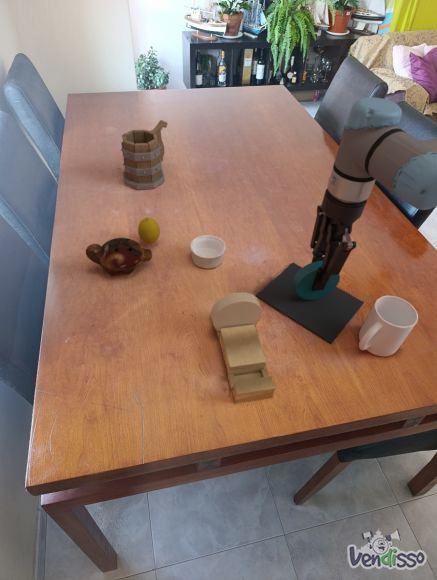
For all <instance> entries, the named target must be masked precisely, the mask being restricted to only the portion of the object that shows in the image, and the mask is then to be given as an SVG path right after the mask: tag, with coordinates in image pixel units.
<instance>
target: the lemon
mask: <svg viewBox="0 0 437 580" xmlns="http://www.w3.org/2000/svg"><path fill="white" fill-rule="evenodd" d="M137 234H138V237H139V239H140V240H141V241H142V242H143V243H144V244H149V245H150V244H151V245H152V244H154V243H156V242H158V241H159V238H160V235H161V229H160V226H159V223H158V222H157V220H156V219H154V218H152V217H144V218H142V219H141V220H140V222H139V223H138V227H137Z"/></svg>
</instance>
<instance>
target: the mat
mask: <svg viewBox="0 0 437 580" xmlns="http://www.w3.org/2000/svg"><path fill="white" fill-rule="evenodd" d="M301 268H303V266H300V265H298V264H297V263H295V262H291V263H290V264H289V265H287V267H286V268H284V269H283V271H281V272H280V273H278V275H277V276H276V277H275V278H274V279H272V280H271V281H270V282H269V283H267V284H266V286H264V287H263V288H262V289H261V290H260V291H259V292H258V293H256V294H255V297H256V298H257V299H258V300H260V301H262V302H263V303H265V304H266V305H268V306H269V307H271V308H273V309H274V310H276V311H278V312H279V313H281V314H282V315H283V316H286V317H287V318H288V319H290V320H292V321H293V322H294V323H297V324H298V325H299V326H301V327H302V328H303V329H306V330H307V331H309V332H311V334H313V335H315V336H317V337H318V338H320V339H321V340H323V341H325V342H327V343H328V344H329V345H332V344H333V342H334V341H335V340H336V339H337V337H338V336H340V334H341V332H342V331H343V330H344V329H345V327H346V326H347V325H348V324H349V322H350V321H351V320H352V319H353V317H354V316H355V315H356V313H358V312H359V310H360V309H361V307H362V306H363V305H364V304H365V302H364V301H363V300H362V299H359V298H358V297H356V296H354V295H352V294H350V293H349V292H347V291H345V290H344V289H341V288H340V287H338V286H336V288H335V289H334V290H333V291H332V292H330V293H329V294H327V295H325V296H323V297H321V298H318V299H313V300H307V299H303V298H301V297H299V296H298V294H297V292H296V290H295V288H294V286H293V279H294V277H295V275H296V274H297V272H298V271H299V270H300V269H301Z"/></svg>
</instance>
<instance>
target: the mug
mask: <svg viewBox="0 0 437 580" xmlns="http://www.w3.org/2000/svg"><path fill="white" fill-rule="evenodd" d="M418 320H419V315H418V311H417V309H416V308H415V306H413V304H411V303H410V302H409V301H407V300H405V299H403V298H401V297H399V296H395V295H383V296H380V297H379V298H377V299H376V300H375V302H374V303H373V305H372V307H371V309H370V311H369V313H368V315H367V317H366V319H365V320H364V322H363V324H362V326H361V327H360V330H359V333H358V338H359V342H358V348H359V350H361V351H365V350H366V351H367V352H369V353H370V354H373V356H374V355H375V356H377V357H389V356H392V355H394V354H395V353H396V352H397V351H398V350H399V349H400V347H401V346H402V345H403V343H404V342H405V340H406V338H407V337H408V336H409V335H410V333H411V332H412V330H413V329H414V327H415V326H416V324H418Z"/></svg>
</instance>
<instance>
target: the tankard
mask: <svg viewBox="0 0 437 580" xmlns="http://www.w3.org/2000/svg"><path fill="white" fill-rule="evenodd" d="M167 127H168V122H167V121H164V120H162V119H160V120H159V121H158V123H157V124H156V125H155V126H154V128H153V129H151V130H148V129H132V130H129V131H126V132H125V133H123V134H122V135H121V138H122V141H121V142H120V144H121V149H120V151H121V153H122V157H123V159H122V160H123V163H122V165H123V167H124V171H122V175H123V184H124V185H125V186H127V187H130V188H132V189H134V190H137V191H143V190H154V189H156V188H158V187H159V186H161V185H163V183H165V182H166V180H165V179H166V178H165V174H164V171H163V168H162V163H163V160H164V156H165V145H164V142H163V139H162V130H163V128H165V129H166V128H167Z"/></svg>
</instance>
